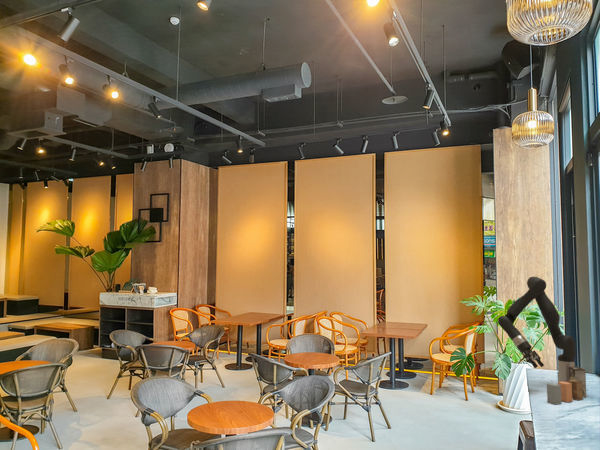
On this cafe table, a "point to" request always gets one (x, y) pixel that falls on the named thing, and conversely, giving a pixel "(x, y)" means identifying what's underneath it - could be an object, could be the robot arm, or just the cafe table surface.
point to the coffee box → (578, 377)
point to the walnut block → (576, 389)
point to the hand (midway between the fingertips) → (539, 366)
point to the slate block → (554, 393)
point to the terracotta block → (566, 391)
